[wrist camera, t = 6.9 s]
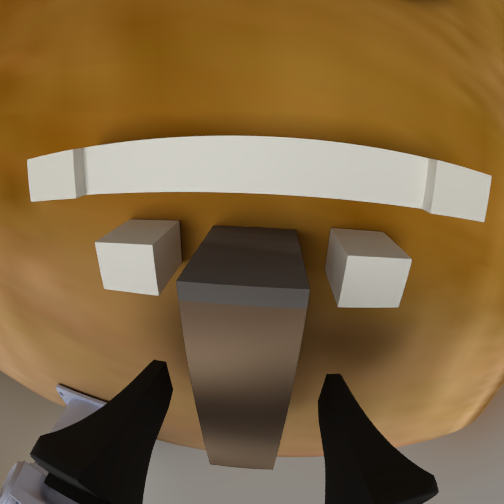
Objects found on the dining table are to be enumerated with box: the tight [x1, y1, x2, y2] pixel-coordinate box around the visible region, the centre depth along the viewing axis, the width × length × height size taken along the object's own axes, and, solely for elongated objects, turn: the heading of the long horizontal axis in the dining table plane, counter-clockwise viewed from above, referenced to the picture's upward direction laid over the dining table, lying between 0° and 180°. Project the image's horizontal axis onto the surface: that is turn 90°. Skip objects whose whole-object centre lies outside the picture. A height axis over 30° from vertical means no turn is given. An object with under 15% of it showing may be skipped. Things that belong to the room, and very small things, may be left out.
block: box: [176, 226, 310, 469], centre depth 12 cm, size 12×4×5 cm, turn 179°
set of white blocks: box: [27, 136, 491, 308], centre depth 9 cm, size 6×15×4 cm, turn 88°
